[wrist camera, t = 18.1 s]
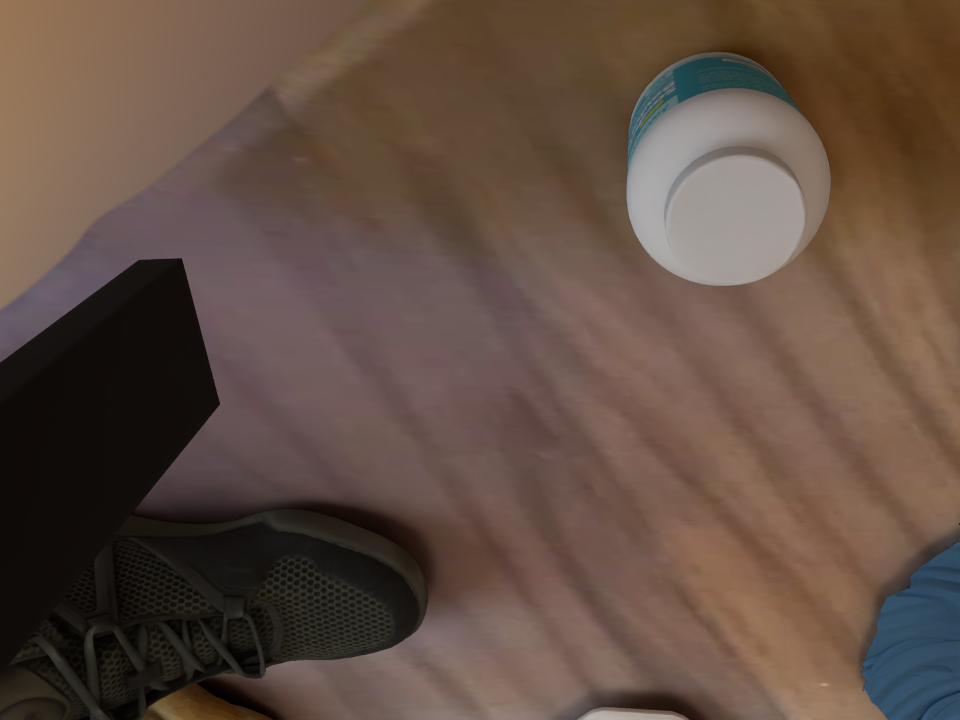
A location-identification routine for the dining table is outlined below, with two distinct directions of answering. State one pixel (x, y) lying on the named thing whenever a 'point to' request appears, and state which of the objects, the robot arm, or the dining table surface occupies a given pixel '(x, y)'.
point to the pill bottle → (723, 171)
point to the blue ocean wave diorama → (919, 645)
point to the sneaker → (211, 611)
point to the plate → (630, 714)
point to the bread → (198, 707)
